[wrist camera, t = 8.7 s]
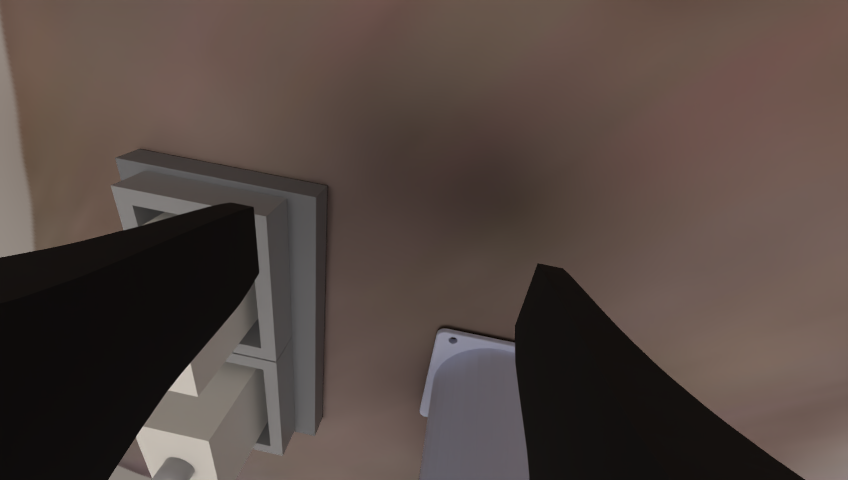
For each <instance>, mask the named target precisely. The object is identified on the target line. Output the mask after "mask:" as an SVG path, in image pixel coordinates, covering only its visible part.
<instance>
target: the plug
mask: <svg viewBox="0 0 848 480" xmlns="http://www.w3.org/2000/svg"><path fill="white" fill-rule="evenodd" d="M177 215H178V214H173V213H168V212H164V213H162V214H160V215H159V216H157V217H155V218H154V219H152V220H150V221H149V222H147V223H145V224H149V223H152V222H156V221H159V220H163V219H166V218H170V217H173V216H177ZM145 224H144V225H145ZM257 319H258V309H257V298H256V288H255V281H254V283H253V285H252V286H251V288H250V290H249V291H248V293H247V294H246V296H245V297H244V299H243V300H242V302H241V303H240V305H239V306H238V307H237V308H236V310H235V311H234V312H233V313H232V315H231V316H230V317H229V318H228V319H227V321H226V322H225V323H224V324H223V325H222V327H221V328H220V329H219V330H218V331H217V332H216V334H215V335H214V336H213V337H212V338H211V339H210V341H209V342H208V343H207V344H206V345H205V346H204V348H203V349H202V350H201V351H200V352H199V354H198V355H197V356H196V357H195V358H194V359H193V361H192V362H191V363H190V364H189V365H188V366H187V368H186V369H185V370H184V371H183V372H182V373H181V375H180V376H179V377H178V378H177V380H176V381H175V382H174V384H173V385H172V386H171V387H170V389H169V391H174V392H178V393H183V394H187V395H191V396H196V397H198V396H199V395H200V394H201V392H202V391H203V390H204V389H205V387H206V386H207V385H208V383H209V382H210V381H211V379H212V378H213V377H214V375H215V374H216V373H217V371H218V370H219V369H220V368H221V366H222V365H223V364H224V362H225V361H226V360H227V358H228V357H229V356H230V354H231V353H232V352H233V351H234V349H235V348H236V347H237V345H238V344H239V343H240V341H241V340H242V339H243V337H244V336H245V335H246V333H247V332H248V331H249V330H250V328H251V327H252V326H253V324H254V323H255V322H256V320H257Z"/></svg>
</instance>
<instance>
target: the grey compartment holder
mask: <svg viewBox="0 0 848 480" xmlns="http://www.w3.org/2000/svg"><path fill="white" fill-rule="evenodd" d="M115 159H116V163H117V166H118V170H119V174H120V177H121V181H120V182H118V183H115V184H113V185H111V188H112V192H113V195H114V199H115V202H116V206H117V209H118V212H119V216H120V219H121V223H122V226H123V230H127V229H131V228H135V227H138V226H142V225H144V224H145V223H147V222H149V221H150V220H152V219H154V218H155V217H157V216H159V215H160V214H162V213H164V212H168V213H173V214H178V215H180V214H184V213H187V212H191V211H195V210H198V209H202V208H206V207H210V206H214V205H218V204H223V203H229V202H232V203H237V204H242V205H247V206H252V207H254V215H255V227H256V238H257V250H258V261H259V275H258V276H257V278H256V280H255V288H256V298H257V309H258V319H257V320H256V322H255V323H254V324H253V326H252V327H251V328H250V330H249V331H248V332H247V333H246V335H245V336H244V337H243V339H242V340H241V341H240V343H239V344H238V345H237V347H236V348H235V349H234V351H233V352H232V353H231V354H230V356H229V357H228V358H227V360H226V361H225V362H224V364H223V365H222V366H221V368H220V369H219V370H218V371H217V373H216V374H215V375H214V377H213V378H212V379H211V381H210V382H209V383H208V385H207V386H206V387H205V389H204V390H203V391H202V392H201V394H200V395H199V396H198V397H196V396H191V395H187V394H183V393H178V392H174V391H169V390H168V391H167V392H166V394H165V395H164V397H163V398H162V400H161V401H160V403H159V404H158V405H157V407H156V408H155V410H154V411H153V413H152V414H151V415H150V417H149V418H148V420H147V421H146V423H145V424H144V426H143V427H142V428H141V430H140V431H139V433H138V434H137V436H136V439H137V441H138V444H139V446H140V449H141V451H142V454H143V456H144V459H145V461H146V464H147V466H148V469H149V471H150V474H151V477H152V480H236V479H237V477H238V475H239V473H240V471H241V470H242V468H243V466H244V464H245V462H246V460H247V458H248V457H249V455H250V453H251V451H252V449H255V450H259V451H264V452H268V453H273V454H277V455H282V456H283V454H284V452H285V450H286V448H287V446H288V443H289V441H290V439H291V437H292V435H293V433H294V431H295V432H300V433H304V434H309V435H313V436H315V434H316V432H317V429H318V427H319V424H320V422H321V420H322V412H323V365H324V318H325V272H326V225H327V186H326V185H321V184H316V183H311V182H306V181H301V180H296V179H291V178H285V177H280V176H275V175H270V174H265V173H260V172H255V171H250V170H244V169H239V168H234V167H229V166H224V165H219V164H214V163H209V162H203V161H198V160H193V159H188V158H183V157H178V156H173V155H168V154H162V153H157V152H152V151H147V150H142V149H138V150H135V151H133V152H130V153H127V154H124V155H122V156H119V157H116V158H115Z"/></svg>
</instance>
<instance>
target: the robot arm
mask: <svg viewBox="0 0 848 480" xmlns="http://www.w3.org/2000/svg"><path fill="white" fill-rule="evenodd" d="M258 275H259V261H258V250H257V238H256V227H255V215H254V207H252V206H247V205H242V204H237V203H232V202H229V203H223V204H218V205H214V206H210V207H206V208H202V209H198V210H195V211H191V212H187V213H184V214H180V215H177V216H173V217H170V218H166V219H163V220H159V221H156V222H152V223H149V224H145V225H142V226H138V227H135V228H131V229H127V230H123V231H119V232H115V233H111V234H108V235H104V236H100V237H96V238H92V239H88V240H84V241H80V242H76V243H71V244H67V245H62V246H58V247H53V248H48V249H43V250H38V251H33V252H28V253H23V254H18V255H12V256H7V257H1V258H0V480H108V479H109V477H110V476H111V474H112V473H113V471H114V469H115V468H116V467H117V465H118V463H119V462H120V460H121V459H122V457H123V456H124V454H125V453H126V451H127V450H128V448H129V447H130V445H131V444H132V442H133V441H134V439H135V437H136V436H137V434H138V433H139V431H140V430H141V428H142V427H143V426H144V424H145V423H146V421H147V420H148V418H149V417H150V415H151V414H152V413H153V411H154V410H155V408H156V407H157V405H158V404H159V403H160V401H161V400H162V398H163V397H164V395H165V394H166V392H167V391H168V390H169V389H170V387H171V386H172V385H173V384H174V382H175V381H176V380H177V378H178V377H179V376H180V375H181V373H182V372H183V371H184V370H185V369H186V368H187V366H188V365H189V364H190V363H191V362H192V361H193V359H194V358H195V357H196V356H197V355H198V354H199V352H200V351H201V350H202V349H203V348H204V346H205V345H206V344H207V343H208V342H209V341H210V339H211V338H212V337H213V336H214V335H215V334H216V332H217V331H218V330H219V329H220V328H221V327H222V325H223V324H224V323H225V322H226V321H227V319H228V318H229V317H230V316H231V315H232V313H233V312H234V311H235V310H236V308H237V307H238V306H239V305H240V303H241V302H242V300H243V299H244V297H245V296H246V294H247V293H248V291H249V290H250V288H251V286H252V285H253V283H254V281H255V280H256V278H257V276H258ZM451 337H454V338H456V339H451ZM420 414H421V415H423V416H425V417H428V420H427V427H426V434H425V441H424V448H423V455H422V462H421V469H420V476H419V480H805V479H803V478H802V477H800V476H799V475H798V474H796V473H795V472H793V471H792V470H790V469H789V468H787V467H786V466H785V465H783V464H782V463H780V462H779V461H777V460H776V459H775V458H773V457H772V456H770V455H769V454H768V453H766V452H765V451H764V450H762V449H761V448H759V447H758V446H757V445H755V444H754V443H753V442H751V441H750V440H749V439H747V438H746V437H745V436H743V435H742V434H741V433H739V432H738V431H737V430H735V429H734V428H732V427H731V426H730V425H728V424H727V423H726V422H725V421H723V420H722V419H721V418H719V417H718V416H717V415H716V414H714V413H713V412H712V411H710V410H709V409H708V408H707V407H705V406H704V405H703V404H702V403H701V402H699V401H698V400H697V399H696V398H695V397H693V396H692V395H691V394H690V393H689V392H687V391H686V390H685V389H684V388H683V387H682V386H680V385H679V384H678V383H677V382H676V381H674V380H673V379H672V378H671V377H670V376H669V375H667V374H666V373H665V372H664V371H663V370H662V369H661V368H660V367H659V366H657V365H656V364H655V363H654V362H653V361H652V360H651V359H650V358H649V357H648V356H647V355H646V354H645V353H644V352H643V351H642V350H641V349H640V348H639V347H638V346H636V345H635V344H634V343H633V342H632V341H631V340H630V339H629V338H628V337H627V336H626V335H625V334H624V333H623V332H622V331H621V330H620V329H619V328H618V326H617V325H616V324H615V323H614V322H613V321H612V320H611V319H610V318H609V317H608V316H607V315H606V314H605V313H604V312H603V311H602V310H601V308H600V307H599V306H598V305H597V304H596V303H595V302H594V301H593V300H592V299H591V298H590V296H589V295H588V294H587V293H586V292H585V291H584V290H583V289H582V288H581V287H580V285H579V284H578V283H577V282H576V281H575V280H574V279H573V278H572V277H571V276H570V275H569V274H568V273H567V272H566V271H565V270H564V269H563V268H558V267H553V266H548V265H543V264H537V267H536V270H535V273H534V275H533V278H532V281H531V284H530V286H529V289H528V292H527V295H526V297H525V300H524V303H523V306H522V308H521V311H520V314H519V317H518V319H517V322H516V325H515V343H514V342H509V341H504V340H499V339H495V338H490V337H485V336H480V335H475V334H471V333H466V332H461V331H456V330H451V329H447V328H443V329H440V330H438V332H437V335H436V339H435V343H434V348H433V352H432V357H431V361H430V365H429V370H428V374H427V379H426V383H425V388H424V392H423V396H422V401H421V405H420Z"/></svg>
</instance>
